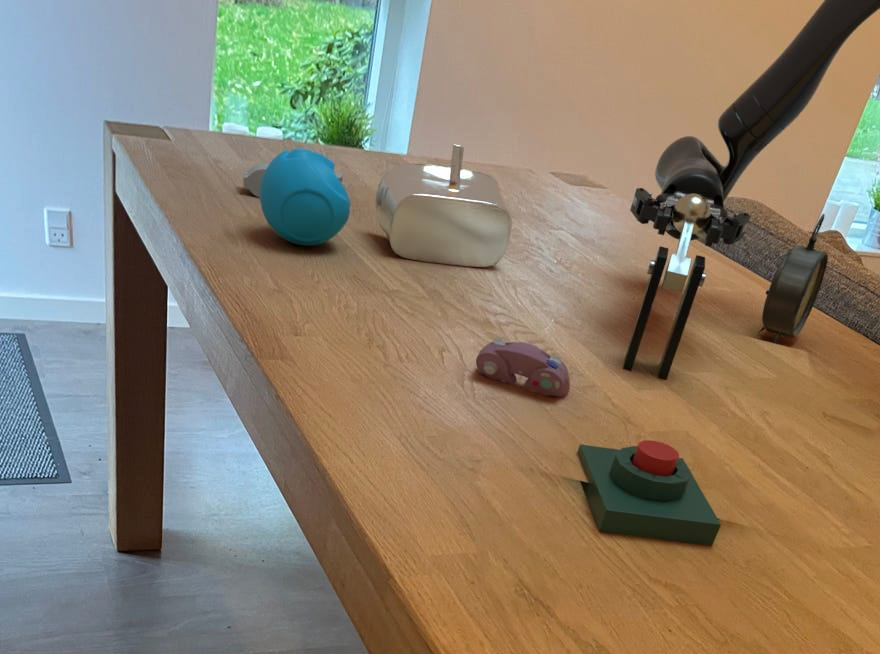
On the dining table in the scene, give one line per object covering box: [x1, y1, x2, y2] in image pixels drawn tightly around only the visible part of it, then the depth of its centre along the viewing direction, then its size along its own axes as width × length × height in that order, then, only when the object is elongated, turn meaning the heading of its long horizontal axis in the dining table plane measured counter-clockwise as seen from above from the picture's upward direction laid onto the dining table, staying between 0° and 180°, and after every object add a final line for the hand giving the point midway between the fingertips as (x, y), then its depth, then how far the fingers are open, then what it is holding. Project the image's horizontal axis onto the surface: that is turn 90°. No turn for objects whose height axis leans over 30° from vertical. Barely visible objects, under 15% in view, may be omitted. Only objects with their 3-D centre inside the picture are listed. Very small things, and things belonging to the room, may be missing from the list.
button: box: [632, 439, 680, 476], centre depth 85 cm, size 4×4×2 cm
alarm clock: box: [757, 213, 829, 345], centre depth 128 cm, size 11×5×16 cm, turn 147°
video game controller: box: [475, 337, 571, 398], centre depth 101 cm, size 10×5×7 cm, turn 68°
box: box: [577, 443, 722, 547], centre depth 86 cm, size 12×10×4 cm
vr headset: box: [375, 143, 513, 268], centre depth 135 cm, size 18×11×14 cm, turn 99°
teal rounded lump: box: [260, 147, 351, 247], centre depth 129 cm, size 12×11×12 cm
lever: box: [660, 194, 711, 294], centre depth 108 cm, size 14×4×4 cm, turn 165°
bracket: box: [622, 246, 707, 381], centre depth 108 cm, size 12×9×14 cm
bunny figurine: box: [242, 162, 346, 199], centre depth 148 cm, size 10×5×15 cm
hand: (687, 230), depth 107 cm, fingers open, 4 cm apart
